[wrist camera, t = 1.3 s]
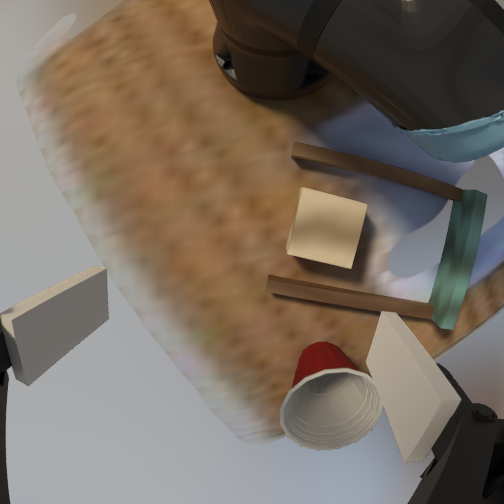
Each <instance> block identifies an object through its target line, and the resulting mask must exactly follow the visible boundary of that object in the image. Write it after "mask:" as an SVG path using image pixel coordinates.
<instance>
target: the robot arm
mask: <svg viewBox="0 0 504 504" xmlns="http://www.w3.org/2000/svg"><path fill="white" fill-rule="evenodd" d="M209 1H210V4H211V6H212V9H213V11H214V14H215V16H216V19H217V21H218V22H217V25H216V29H215V33H214V37H213V51H214V56H215V59H216V61H217V64H218V66H219V68H220V70H221V71H222V73H223V75H224V76H225V77H226V78H227V80H228V81H229V82H230V83H232V84H233V85H234V86H235V87H237V88H238V89H240V90H241V91H243V92H245V93H247V94H250V95H252V96H255V97H259V98H263V99H269V100H288V99H294V98H298V97H302V96H305V95H307V94H309V93H311V92H313V91H315V90H317V89H318V88H320V87H321V86H322V85H323V84H324V83H325V82H326V81H327V80H328V79H329V78H330V76H331V75H332V74H333V75H335V76H336V77H337V78H339V79H340V80H341V81H343V82H344V83H345V84H347V85H348V86H349V87H350V88H352V89H353V90H354V91H355V92H357V93H358V94H359V95H360V96H362V97H363V98H364V99H365V100H367V101H368V102H369V103H370V104H371V105H373V106H374V107H375V108H376V109H377V110H378V111H380V112H381V113H382V114H383V115H384V116H385V117H386V118H388V119H389V120H390V121H391V122H392V124H393V126H394V127H395V128H396V129H397V130H398V131H400V132H401V133H403V134H406V135H408V136H409V137H410V138H411V139H412V140H413V141H414V142H415V143H417V144H418V145H419V146H420V147H421V148H422V149H423V150H424V151H425V152H426V153H428V154H429V155H430V156H432V157H434V158H436V159H438V160H442V161H450V162H454V163H458V162H467V161H472V160H475V159H479V158H482V157H484V156H487V155H489V154H491V153H494V152H495V151H497V150H499V149H501V148H503V147H504V0H209ZM108 319H109V312H108V291H107V268H102V267H97V266H94V267H92V268H90V269H87V270H85V271H83V272H81V273H79V274H77V275H75V276H73V277H71V278H69V279H67V280H65V281H63V282H61V283H58V284H57V285H54V286H53V287H50V288H49V289H47V290H44V291H43V292H40V293H39V294H37V295H35V296H33V297H31V298H29V299H27V300H25V301H23V302H21V303H19V304H17V305H15V306H13V307H12V308H10V309H8V310H6V311H4V312H2V313H0V504H10V498H9V490H8V480H7V467H6V439H5V438H6V436H5V435H6V405H7V391H8V381H9V377H8V373H7V369H8V368H10V367H11V366H12V368H13V372H14V375H15V378H16V379H17V380H19V381H20V382H22V383H24V384H26V385H27V386H29V385H30V384H32V382H34V381H35V380H36V379H37V378H38V377H40V376H41V375H42V374H43V373H44V372H45V371H47V370H48V369H49V368H50V367H51V366H53V365H54V364H55V363H56V362H57V361H58V360H60V359H61V358H62V357H63V356H64V355H66V354H67V353H68V352H69V351H70V350H72V349H73V348H74V347H75V346H76V345H78V344H79V343H80V342H81V341H82V340H84V339H85V338H86V337H87V336H88V335H90V334H91V333H92V332H93V331H95V330H96V329H97V328H98V327H100V326H101V325H102V324H103V323H104V322H106V321H107V320H108ZM366 364H367V366H368V369H369V371H370V374H371V376H372V378H373V381H374V383H375V386H376V388H377V391H378V394H379V396H380V399H381V401H382V404H383V406H384V409H385V412H386V414H387V417H388V420H389V422H390V425H391V428H392V431H393V433H394V436H395V439H396V442H397V444H398V447H399V450H400V453H401V456H402V459H403V462H404V463H413V462H420V461H424V459H425V458H426V456H427V455H428V454H429V452H430V451H431V449H432V451H433V453H434V456H435V458H434V459H433V460H432V462H431V463H430V464H429V466H428V467H427V469H426V470H425V471H424V472H423V474H422V475H421V476H420V477H421V478H422V480H421V482H420V484H419V485H418V487H417V489H416V491H415V492H414V494H413V496H412V497H411V499H410V501H409V502H408V504H504V419H498V418H497V415H496V413H495V412H494V411H493V410H492V409H491V408H489V407H488V406H486V405H483V404H479V403H472V402H471V401H470V399H469V398H468V397H467V395H466V394H465V392H464V391H463V390H462V388H461V387H460V386H458V383H457V382H456V380H455V379H453V376H452V375H451V374H450V372H449V371H448V370H447V369H446V368H444V367H443V366H441V365H440V364H439V363H437V364H436V363H435V362H434V361H433V359H432V358H431V357H430V355H429V354H428V353H427V351H426V350H425V349H424V347H423V346H422V345H421V343H420V342H419V341H418V340H417V338H416V337H415V336H414V334H413V333H412V332H411V331H410V329H409V328H408V327H407V326H406V324H405V323H404V322H403V321H402V319H401V318H400V317H399V316H398V314H397V313H395V312H385V311H381V315H380V318H379V322H378V325H377V329H376V332H375V335H374V338H373V342H372V345H371V348H370V351H369V354H368V357H367V360H366Z"/></svg>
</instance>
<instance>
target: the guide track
mask: <svg viewBox="0 0 504 504" xmlns="http://www.w3.org/2000/svg"><path fill="white" fill-rule="evenodd" d="M291 157H293V158H298V159H303V160H308V161H313V162H317V163H322V164H326V165H331V166H335V167H339V168H343V169H348V170H352V171H356V172H360V173H363V174H367V175H371V176H375V177H379V178H382V179H386V180H389V181H393V182H396V183H400V184H403V185H406V186H410V187H413V188H416V189H420V190H423V191H426V192H429V193H432V194H435V195H438V196H441V197H444V198H447V199H450V200H453V206H452V212H451V217H450V222H449V227H448V232H447V237H446V241H445V245H444V250H443V254H442V258H441V262H440V265H439V269H438V273H437V277H436V280H435V284H434V287H433V290H432V294H431V297H430V300H429V303H423V302H417V301H411V300H405V299H399V298H393V297H387V296H382V295H376V294H370V293H365V292H359V291H354V290H348V289H342V288H337V287H332V286H326V285H321V284H315V283H310V282H305V281H299V280H294V279H289V278H284V277H278V276H273V275H268V280H267V285H266V292H270V293H275V294H281V295H286V296H291V297H297V298H302V299H308V300H313V301H319V302H325V303H330V304H336V305H342V306H348V307H354V308H360V309H366V310H372V311H379V312H381V311H385V312H395V313H397V314H398V315H405V316H412V317H419V318H426V319H431V320H433V321H434V322H435V323H436V324H437V325H438V326H439V327H440V328H442V329H451V330H453V328H454V325H455V323H456V320H457V317H458V314H459V311H460V308H461V305H462V302H463V299H464V296H465V293H466V290H467V286H468V283H469V279H470V276H471V272H472V268H473V265H474V261H475V257H476V253H477V248H478V244H479V239H480V234H481V229H482V224H483V218H484V213H485V207H486V200H487V194H484V193H482V192H480V191H477V190H462V189H460V188H457V187H454V186H452V185H449V184H446V183H444V182H441V181H438V180H435V179H432V178H429V177H426V176H423V175H420V174H417V173H414V172H411V171H408V170H405V169H401V168H398V167H395V166H391V165H388V164H385V163H381V162H378V161H374V160H370V159H367V158H363V157H359V156H355V155H351V154H347V153H343V152H339V151H335V150H331V149H326V148H322V147H317V146H313V145H308V144H303V143H298V142H294V144H293V150H292V155H291Z"/></svg>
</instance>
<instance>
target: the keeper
mask: <svg viewBox="0 0 504 504" xmlns="http://www.w3.org/2000/svg"><path fill="white" fill-rule="evenodd" d="M367 205H368V204H365V203H361V202H358V201H354V200H350V199H347V198H343V197H339V196H335V195H332V194H328V193H324V192H320V191H316V190H312V189H308V188H304V187H302V188H300V190H299V194H298V199H297V203H296V208H295V212H294V216H293V221H292V225H291V229H290V233H289V238H288V242H287V246H286V249H287V254H289V255H293V256H298V257H302V258H306V259H311V260H315V261H319V262H324V263H328V264H332V265H336V266H341V267H345V268H349V269H351V268H352V264H353V260H354V257H355V253H356V249H357V246H358V242H359V238H360V234H361V230H362V226H363V222H364V218H365V213H366V209H367Z"/></svg>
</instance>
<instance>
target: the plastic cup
mask: <svg viewBox="0 0 504 504" xmlns="http://www.w3.org/2000/svg"><path fill="white" fill-rule="evenodd" d="M382 410H383V404H382V401H381V399H380V396H379V394H378V391H377V388H376V386H375V383H374V381H373V379H372V378H371V377H370V376H369V375H367V374H366V373H363V372H360V371H359V370H358V369H357V368H356V367H355V366H354V364H353V363H352V362H351V361H350V360H349V359H348V358H347V357H346V356H345V355H344V353H343V352H342V351H341V350H340V349H339V348H338V347H337V346H335V345H334V344H331V343H328V342H317V343H314V344H312V345H310V346H308V347H307V348H306V349H305V350H304V351H303V353H302V355H301V357H300V359H299V361H298V367H297V369H296V372H295V376H294V381H293V385H292V389H291V390H289V392H288V394H287V396H286V398H285V400H284V402H283V403H282V405H281V407H280V425H281V426H282V428H283V430H284V432H285V433H286V435H287V437H288V438H290V439H291V440H293V441H294V442H296V443H297V444H299V445H300V446H302V447H307V448H311V449H315V450H329V449H339V448H342V447H344V446H347V445H350V444H352V443H355V442H357V441H358V440H360V439H361V438H362V437H364V436H365V435H366V434H368V433H369V432H370V431H371V430H372V429H373V428H374V426H375V425H376V423H377V422H378V420H379V419H380V417H381V415H382Z"/></svg>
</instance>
